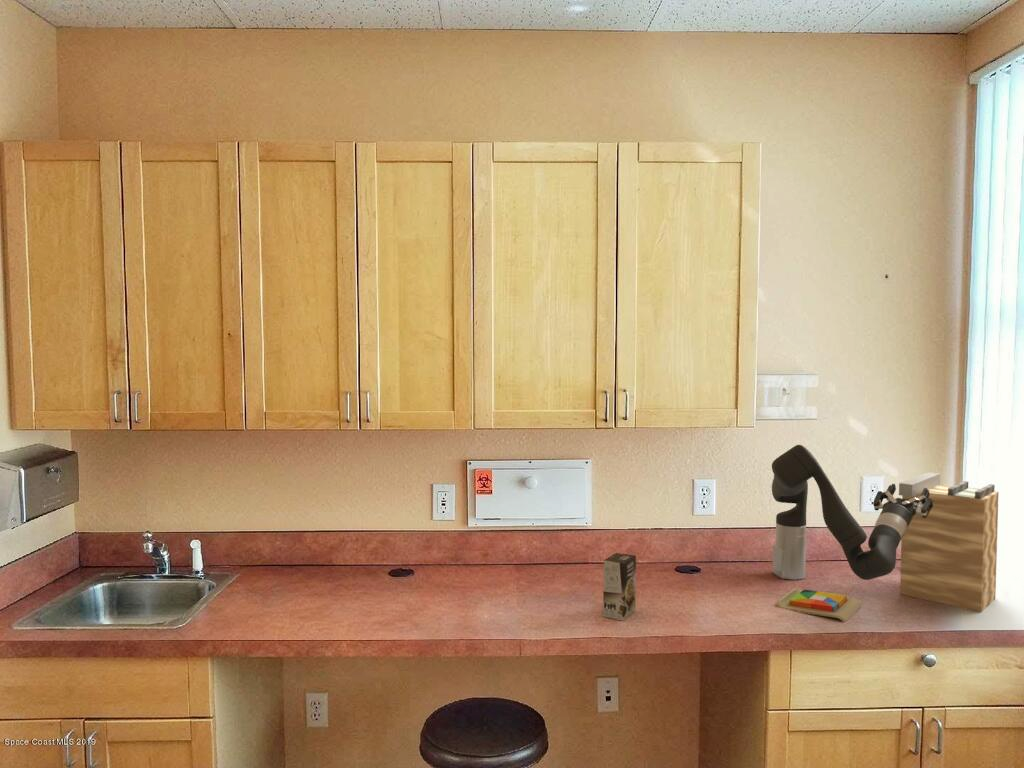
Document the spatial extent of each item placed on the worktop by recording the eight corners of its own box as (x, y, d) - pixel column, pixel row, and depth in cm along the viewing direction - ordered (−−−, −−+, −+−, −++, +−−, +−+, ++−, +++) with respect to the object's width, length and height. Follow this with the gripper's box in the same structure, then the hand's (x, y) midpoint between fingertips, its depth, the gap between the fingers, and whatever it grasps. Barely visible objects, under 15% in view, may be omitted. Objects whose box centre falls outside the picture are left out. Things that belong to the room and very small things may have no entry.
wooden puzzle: (796, 592, 217) (796, 581, 217) (863, 607, 205) (863, 595, 205) (775, 608, 204) (775, 596, 204) (845, 624, 192) (845, 612, 192)
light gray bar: (912, 496, 202) (912, 484, 202) (898, 495, 205) (899, 483, 204) (940, 484, 220) (940, 473, 220) (927, 483, 222) (927, 472, 222)
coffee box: (623, 621, 193) (624, 563, 192) (602, 616, 197) (602, 559, 196) (636, 611, 201) (636, 555, 200) (615, 606, 204) (615, 551, 204)
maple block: (981, 612, 199) (984, 492, 198) (900, 593, 214) (902, 482, 213) (995, 598, 210) (998, 485, 209) (917, 581, 226) (920, 476, 224)
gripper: (918, 517, 190) (935, 481, 199) (863, 509, 200) (881, 474, 209) (922, 539, 193) (939, 501, 202) (867, 529, 203) (885, 494, 212)
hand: (910, 488), depth 206 cm, fingers open, 8 cm apart
